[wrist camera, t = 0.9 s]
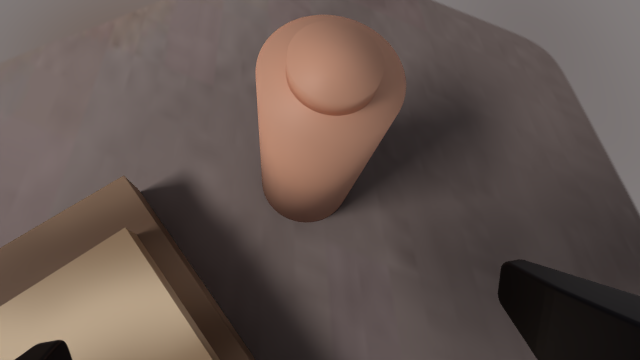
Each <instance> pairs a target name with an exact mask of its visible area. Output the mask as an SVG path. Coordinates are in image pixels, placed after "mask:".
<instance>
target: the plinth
mask: <svg viewBox="0 0 640 360" xmlns="http://www.w3.org/2000/svg"><path fill="white" fill-rule="evenodd" d="M54 340H63V341H65V342H66V344H67V346H68V348H69V351H70V354H71V357H72V360H255V358H254V357H253V355H252V354H251V352H250V351H249V349H248V348H247V346H246V345H245V344H244V342H243V341H242V339H241V338H240V336H239V335H238V333H237V332H236V330H235V329H234V327H233V326H232V325H231V323H230V322H229V320H228V319H227V317H226V316H225V314H224V313H223V311H222V310H221V309H220V307H219V306H218V304H217V303H216V301H215V300H214V298H213V297H212V295H211V294H210V293H209V291H208V290H207V288H206V287H205V285H204V284H203V282H202V281H201V279H200V278H199V276H198V275H197V274H196V272H195V271H194V269H193V268H192V266H191V265H190V263H189V262H188V260H187V259H186V258H185V256H184V255H183V253H182V252H181V250H180V249H179V247H178V246H177V244H176V243H175V242H174V240H173V239H172V237H171V236H170V234H169V233H168V231H167V230H166V228H165V227H164V225H163V224H162V223H161V221H160V220H159V218H158V217H157V215H156V214H155V212H154V211H153V209H152V208H151V207H150V205H149V204H148V202H147V201H146V199H145V198H144V196H143V195H142V193H141V192H140V191H139V190H138V189H137V188H136V187H135V186H134V185H133V184H132V183H131V182H130V181H129V180H128V179H127V178H126V177H125V176H122V177H120V178H119V179H117V180H115V181H114V182H112V183H110V184H108V185H107V186H105V187H103V188H102V189H100V190H98V191H97V192H95V193H93V194H91V195H90V196H88V197H86V198H85V199H83V200H81V201H79V202H78V203H76V204H74V205H73V206H71V207H69V208H68V209H66V210H64V211H62V212H61V213H59V214H57V215H56V216H54V217H52V218H50V219H49V220H47V221H45V222H44V223H42V224H40V225H39V226H37V227H35V228H33V229H32V230H30V231H28V232H27V233H25V234H23V235H21V236H20V237H18V238H16V239H15V240H13V241H11V242H10V243H8V244H6V245H4V246H3V247H1V248H0V360H15V359H16V358H18V357H19V356H20V355H22V354H23V353H25V352H26V351H27V350H29V349H30V348H32V347H33V346H34V345H36V344H39V343H43V342H49V341H54Z"/></svg>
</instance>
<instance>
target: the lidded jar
mask: <svg viewBox="0 0 640 360" xmlns="http://www.w3.org/2000/svg"><path fill="white" fill-rule="evenodd" d="M256 88H257V105H258V121H259V138H260V154H261V170H262V185H263V191H264V194H265V196H266V198H267V200H268V202H269V203H270V205H271V206H272V207H273V208H274V209H275V210H276V211H277V212H278V213H280V214H281V215H283V216H284V217H286V218H288V219H291V220H294V221H298V222H314V221H319V220H322V219H324V218H326V217H328V216H330V215H331V214H333V213H334V212H335V211H336V210H337V209H338V208H339V207H340V206H341V204H342V203H343V201H344V199H345V198H346V196H347V195H348V193H349V191H350V190H351V188H352V187H353V185H354V183H355V182H356V180H357V179H358V177H359V175H360V174H361V172H362V171H363V169H364V167H365V166H366V164H367V162H368V161H369V159H370V158H371V156H372V154H373V153H374V151H375V150H376V148H377V146H378V145H379V143H380V142H381V140H382V138H383V137H384V135H385V134H386V132H387V130H388V129H389V127H390V126H391V124H392V122H393V121H394V119H395V118H396V116H397V114H398V113H399V111H400V109H401V107H402V105H403V102H404V98H405V93H406V78H405V73H404V69H403V66H402V63H401V61H400V59H399V57H398V55H397V54H396V52H395V51H394V49H393V48H392V47H391V45H390V44H389V43H388V42H387V41H386V40H385V39H384V38H383V37H382V36H381V35H379V34H378V33H377V32H375V31H374V30H373V29H371V28H369V27H368V26H366V25H364V24H362V23H360V22H357V21H355V20H352V19H349V18H345V17H340V16H334V15H312V16H307V17H302V18H299V19H296V20H293V21H291V22H289V23H287V24H285V25H283V26H282V27H280V28H279V29H278V30H276V31H275V32H274V33H273V34H272V35H271V36H270V37H269V38H268V39H267V41H266V42H265V43H264V45H263V46H262V49H261V51H260V53H259V56H258V59H257V63H256Z"/></svg>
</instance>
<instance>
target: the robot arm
mask: <svg viewBox="0 0 640 360" xmlns="http://www.w3.org/2000/svg"><path fill="white" fill-rule="evenodd" d="M498 298H499V301H500V303H501V305H502V307H503V308H504V310H505V311H506V313H507V314H508V316H509V317H510V319H511V320H512V322H513V323H514V325H515V326H516V328H517V329H518V331H519V332H520V334H521V335H522V337H523V338H524V340H525V341H526V343H527V344H528V346H529V347H530V349H531V350H532V352H533V353H534V355H535V356H536V358H537V359H538V360H640V296H638V295H634V294H631V293H628V292H625V291H622V290H618V289H615V288H612V287H609V286H606V285H602V284H599V283H596V282H593V281H589V280H586V279H583V278H580V277H577V276H573V275H570V274H567V273H564V272H560V271H557V270H554V269H551V268H548V267H544V266H541V265H538V264H535V263H532V262H528V261H525V260H514V261H508V262H505V263H503V265H502V266H501V272H500V280H499V288H498ZM15 360H72V357H71V354H70V351H69V348H68V346H67V344H66V342H65V341H63V340H54V341H49V342H43V343H39V344H36V345H34V346H33V347H32V348H30V349H29V350H27V351H26V352H25V353H23V354H22V355H20V356H19V357H18V358H16V359H15Z"/></svg>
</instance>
